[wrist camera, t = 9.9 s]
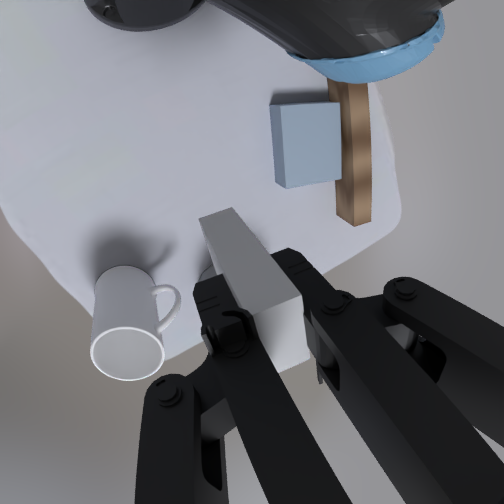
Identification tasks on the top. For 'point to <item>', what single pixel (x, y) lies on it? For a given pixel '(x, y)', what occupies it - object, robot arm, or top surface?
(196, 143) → the top surface
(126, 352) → the mug
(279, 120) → the block
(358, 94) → the brown wooden bar
